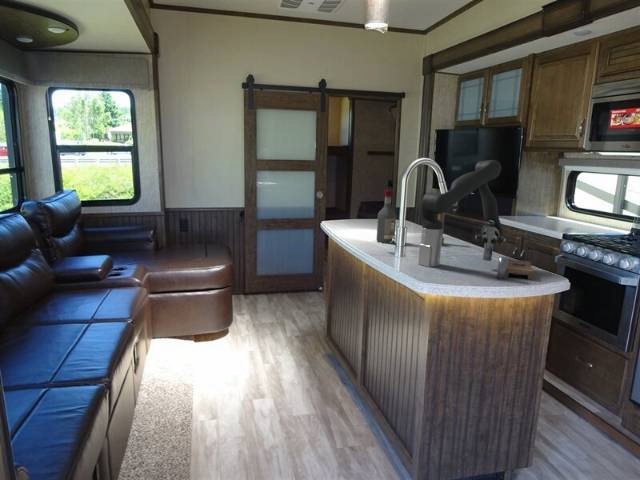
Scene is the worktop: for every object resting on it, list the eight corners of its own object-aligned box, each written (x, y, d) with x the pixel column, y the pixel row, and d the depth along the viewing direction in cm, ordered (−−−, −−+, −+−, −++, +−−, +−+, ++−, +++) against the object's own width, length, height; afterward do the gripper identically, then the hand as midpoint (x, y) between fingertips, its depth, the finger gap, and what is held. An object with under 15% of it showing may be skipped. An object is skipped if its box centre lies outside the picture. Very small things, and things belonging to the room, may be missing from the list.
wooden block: (424, 243, 259) (426, 212, 256) (439, 242, 263) (442, 212, 260) (428, 244, 256) (430, 213, 253) (443, 244, 260) (446, 213, 257)
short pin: (503, 280, 185) (505, 259, 183) (495, 278, 188) (497, 257, 186) (507, 279, 187) (509, 258, 186) (499, 277, 190) (501, 256, 188)
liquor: (374, 241, 261) (377, 190, 255) (384, 239, 267) (387, 189, 261) (386, 244, 254) (389, 191, 249) (396, 242, 260) (399, 190, 255)
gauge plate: (531, 280, 187) (532, 270, 186) (505, 276, 191) (506, 267, 190) (529, 270, 203) (530, 261, 202) (505, 267, 207) (506, 259, 206)
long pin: (488, 261, 200) (492, 228, 197) (481, 259, 203) (485, 226, 200) (492, 260, 202) (496, 227, 200) (485, 258, 205) (489, 226, 202)
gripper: (476, 226, 216) (473, 231, 200) (507, 229, 211) (507, 234, 195) (474, 241, 217) (471, 247, 202) (505, 245, 212) (505, 251, 196)
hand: (489, 241), depth 198 cm, fingers closed on long pin, 3 cm apart
